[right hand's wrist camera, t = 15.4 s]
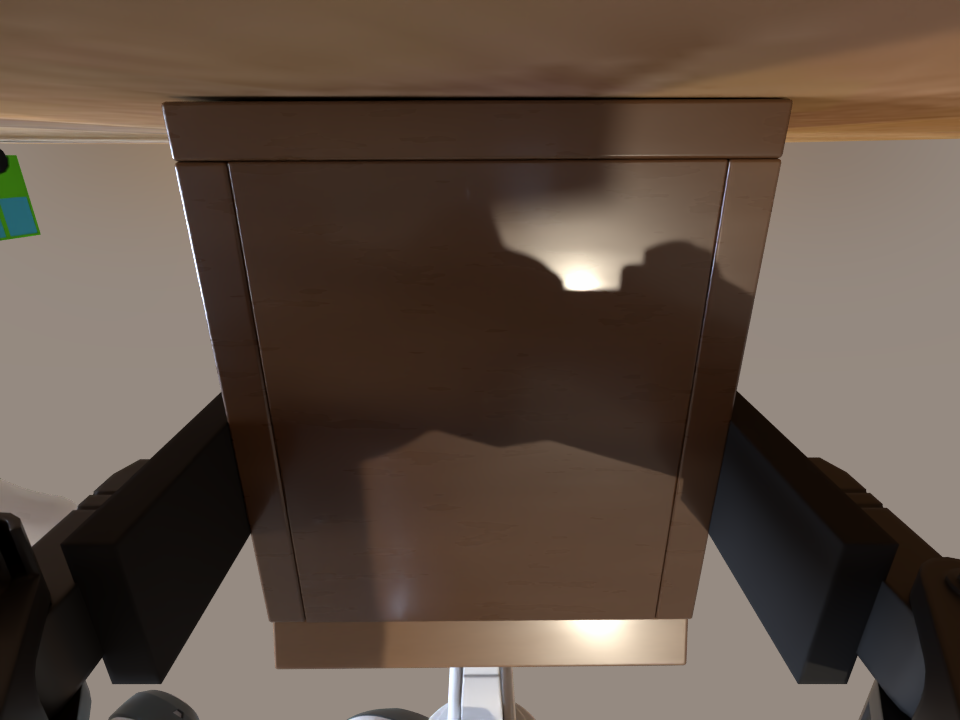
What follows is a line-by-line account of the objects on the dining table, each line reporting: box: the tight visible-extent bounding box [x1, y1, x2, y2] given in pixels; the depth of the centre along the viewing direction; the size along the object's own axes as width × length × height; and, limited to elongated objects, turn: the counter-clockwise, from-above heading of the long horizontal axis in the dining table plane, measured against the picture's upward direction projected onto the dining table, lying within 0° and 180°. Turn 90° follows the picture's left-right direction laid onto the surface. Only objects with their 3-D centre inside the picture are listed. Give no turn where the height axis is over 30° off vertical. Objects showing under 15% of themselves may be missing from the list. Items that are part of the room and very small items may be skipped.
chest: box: [162, 99, 792, 623], centre depth 18 cm, size 17×10×11 cm, turn 0°
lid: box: [273, 618, 688, 669], centre depth 22 cm, size 18×10×9 cm, turn 0°
